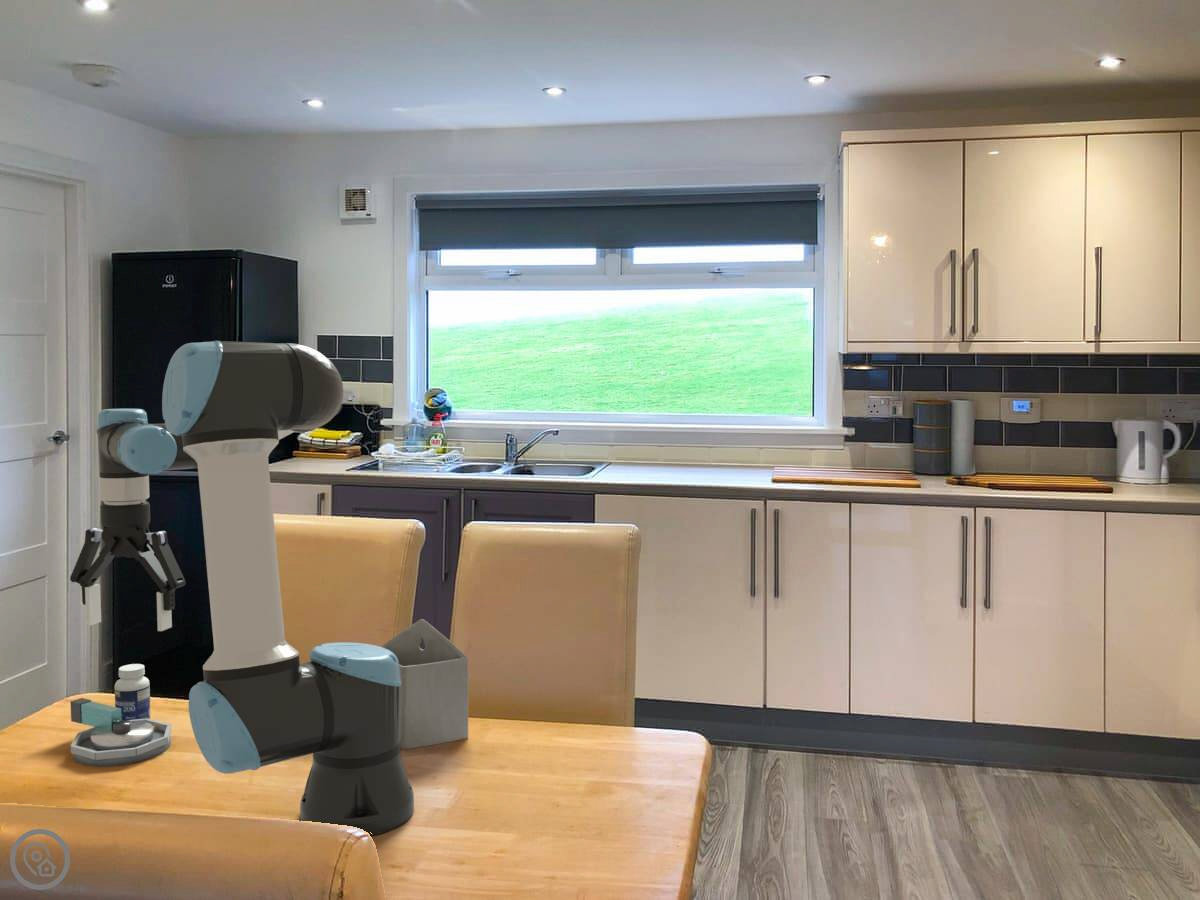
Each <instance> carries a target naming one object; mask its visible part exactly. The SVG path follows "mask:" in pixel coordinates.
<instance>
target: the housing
mask: <svg viewBox="0 0 1200 900" xmlns="http://www.w3.org/2000/svg"><path fill="white" fill-rule="evenodd" d="M128 721H141V722H147V723H150V724H152V725H153V732H154V736H153V738H152V740H150V741H149V742H147V743H145V744H143V745H140V746H137V747H134V748H127V749H117V750H106V751H105V750H98V749H95V748H93V747H92V746H91V733H92V732H93V731H95V730H96V729H98V728H96V727H93V726H92V727H91V728H88V729H85V730H82V731H79V732H78V733H77V734H76V735H75V737H74V739H73V741H72V742H71V744H70V753H71V754H72V755H73V760H74V761H75V762H76V763H78V764H81V765H84V766H87V767H88V766H89V767H98V768H99V767H117V766H118V767H119V766H126V765H131V764H134V763H135V764H136V763H140V762H144V761H146V760H149V759H152V758H155V757H157V756H159V755H161V754H162V753H163V754H164V752H166V751H167V750H168V749H169V748H170V747H171V745H172V744H171V742H172V741H171V740H172V739H171V738H172V737H171V734H172V724H170V723H167V722H163V721H160V720H155V719H151V718H150V719H135V720H128Z"/></svg>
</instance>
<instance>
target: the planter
mask: <svg viewBox="0 0 1200 900" xmlns="http://www.w3.org/2000/svg"><path fill="white" fill-rule="evenodd" d="M422 640H423V644H424V646H425V647H424V649H422V648H421V646H420V644H421V643H422ZM380 647H383V648H385V649H388V650H390V651H391V652H393V653H394V654H395V655H396V657H397V659H398V662H399V670H400V680H401V686H400V750H402V751H403V750H411V749H417V748H424V747H428V746H434V745H439V744H440V745H441V744H446V743H450V742H451V741H452V742H457V741H461V739H462V740H466V739H465V738H467V739H468V738H469V660H468V656H467V655H466V654H465V653H464V652H463V651H462V650H461V649H460V648H459V647H458V646H456V645H455V644H454V643H453V642H451V640H450V639H448V638H447V637H446V636H445V635H443V634H442V633H441V632H440V631H439V630H437V629H436V628H435V627H434V626H433V625H432V624H430V623H429V622H428V621H427V620H425V619H423V618H421V619H419V620H417V621H416V622H414V623H413V624H411V625H409V626H408V627H406V628H405V629H404V630H402V631H401V632H399V633H398V634H396V635H395V636H393V637H392V638H390V640H388V641H387V642H385V643H383V645H381V646H380ZM456 740H457V741H456Z"/></svg>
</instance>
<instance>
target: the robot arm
mask: <svg viewBox="0 0 1200 900" xmlns="http://www.w3.org/2000/svg"><path fill="white" fill-rule="evenodd" d="M339 372H340V371H338V369H337V367H336V366H335V364H333V362H332V361H331V360H330V359H329V358H328V357H326V356H325V355H324V354H322V352H320V351H318V350H316V349H314V348H312V347H310V346H307V345H303V344H298V343H291V342H290V343H289V342H283V343H274V342H273V343H272V342H251V341H249V342H248V341H247V342H246V341H245V342H244V341H229V340H228V341H226V340H224V341H222V340H213V341H202V342H189V343H188V342H187V343H185V344H183V345H181V346H180V347H179V348H177V350H175V352H174V353H173V355H171V358H170V361H169V363H168V364H167V369H166V372H165V375H164V376H165V377H164V381H163V387H162V396H161V397H162V398H161V399H162V400H161V403H162V404H161V411H162V418H163V420H164V423H149V422H148V414H147V411H145V409H142V408H108V409H102V410H100V411H99V412H98V413H97V428H96V431H95V433H96V435H97V447H98V449H97V450H98V451H97V452H98V453H97V454H98V472H99V475H98V476H99V477H98V480H99V481H98V485H99V487H98V488H99V492H98V493H99V500H100V501H101V502H103V503H101V505H100V506H99V508H100V525H101V526H103V529H102V528H101V527H98V526H97V527H93V528H92V527H91V528H88V529H86V530H85V536H84V544H83V545H82V548H81V551H80V553H79V556H78V557H77V560H76V563H75V565H74V567H73V570H72V573H71V575H70V577H69V579H70V581H71V583H77V584H79V585H80V587H81V598H82V599H81V601H82V605H84V606H85V623H86V626H89V627H91V626H93V625H96V624H100V623H102V606H101V598H102V597H101V584H100V583H99V582H98V580H99V578H100V577H101V575H102V574H103V573H104V572H105V571H106V569H107V567H108V566H109V565H110V563H111V562H112V561H113V559H114V558H122V557H124V558H126V559H127V558H128V559H132V558H134V559H135V560H136V562H139V563H140V564H141V566H142V567H143V568H144V570H145V571H146V572H147V573H148V574H149V576H150V577H151V579H152V580H153V581H154V582H155V584H156V585H157V587H158V588H159V589H160V591H157V592H156V615H157V617H156V621H157V624H156V625H157V632H163V631H166V630H168V629H171V628H173V621H172V619H173V618H172V610H175V607H176V596H175V595H176V593H175V592H176V589H178V588H181V587H184V586H185V585H186V583H187V582H186V579H185V577H184V575H183V572H182V570H181V568H180V565H179V564H178V562H177V560H176V558H175V556H174V553H173V551H172V549H171V546H170V545H169V539H168V533H167V531H165V530H161V531H155V532H150V531H151V530H150V529H149V525H150V523H151V504H150V503H149V501H147V500H148V499H149V498H150V474H151V475H152V474H159V473H162V472H163V471H176V470H177V471H178V470H190V469H191V470H192V469H197V473H198V474H197V475H198V484H199V495H200V505H201V506H200V507H201V517H202V527H203V528H202V529H203V537H204V538H203V540H204V550H205V560H206V561H205V562H206V564H205V565H206V573H207V583H208V594H209V595H208V596H209V605H210V618H211V628H212V629H211V631H212V637H213V638H212V640H213V641H212V642H213V652H212V654H211V655H210V656H209V658H207V660H206V661H205V662H204V664H203V665H202V672H203V673H202V674H203V681H199V682H197V683H196V684H195V685H193V686H192V687H191V688H190V691H189V694H188V698H189V700H188V714H189V715H188V716H189V719H190V724H191V728H192V732H193V735H194V739H195V741H196V744H197V746H198V748H199V750H200V752H201V754H202V756H203V757H204V759H205V761H206V763H208V765H209V766H210V767H211V768H212V769H214V770H215V771H216V772H218V773H221V774H226V775H227V774H228V775H230V774H235V773H241V772H245V771H257V770H259V769H260V768H262V767H265V766H266V767H267V766H270V765H273V764H277V763H281V762H285V761H289V760H292V759H296V758H300V757H305V756H308V755H312V764H311V767H310V771H309V773H308V776H307V780H306V783H305V787H304V792H303V794H302V796H301V800H300V804H299V807H300V808H299V812H300V814H299V817H300V818H299V821H301V820H302V821H312V822H321V823H330V824H338V825H347V826H353V827H357V828H360V829H363V830H364V831H366V832H368V833H369V834H370V836H374V835H378V834H383V833H385V831H386V832H388V831H391V830H393V829H395V827H396V828H397V827H400V826H401V825H402V824H404V823H406V822H407V821H408V820H410V818H411V816H412V815H413V813H414V809H415V800H414V799H415V795H414V793H415V792H414V790H413V787H412V785H411V783H410V781H409V779H408V774H407V772H406V767H405V766H404V762H403V759H402V754H401V748H400V686H401V680H400V670H399V662H398V659H397V657H396V655H395V654H394V653H393V652H391V651H390V650H388V649H385V648H383V647H381V646H378V645H375V644H370V643H361V642H349V641H347V642H344V641H343V642H342V641H341V642H338V641H337V642H328V643H322V644H318V645H317V646H314V647H312V649H311V651H310V654H309V660H310V661H308V662H303V663H301V662H300V653H299V651H298V650H297V649H296V648H294V647H293V646H292V645H291V644H289V643H288V642H287V641H286V637H285V636H286V635H285V633H286V632H285V625H284V624H285V623H284V615H283V614H284V613H283V604H282V594H281V593H282V590H281V583H280V582H281V580H280V573H279V570H280V569H279V562H278V552H277V551H278V549H277V540H276V539H277V538H276V529H275V520H274V519H275V518H274V507H273V497H272V486H271V476H270V475H271V474H270V467H269V466H270V465H269V464H270V463H269V456H270V454H271V453H272V452H273V450H274V449H275V448H276V447H277V446H278V445H279V443H280V442H279V441H280V440H281V439H284V438H285V437H287V436H289V435H291V434H293V433H308V432H311V431H314V430H317V429H318V428H320V427H323V426H324V425H326V424H328V423H329V422H330V421H331V420H332V419H333V418H334V417H335V416H336V415H337V414H338V413H339V411H340V409H341V408H342V403H343V399H344V384H343V381H342V377H341V374H340V373H339ZM102 541H103V543H104V544H105V545H104V546H103V548H102V549H101V550H100V551H99V553H98V556H97V558H96V559H95V557H96V555H97V552H98V550H99V548H100V545H101V543H102ZM150 545H151V546H152V547H151V546H150ZM94 559H95V560H94ZM98 583H99V584H98ZM390 829H391V830H390ZM387 830H388V831H387ZM370 832H371V833H372V834H373V835H372V834H371V833H370Z"/></svg>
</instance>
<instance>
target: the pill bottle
mask: <svg viewBox="0 0 1200 900" xmlns="http://www.w3.org/2000/svg"><path fill="white" fill-rule="evenodd" d="M145 668H146V667H145V665H144V664H141V663H131V664H130V663H129V664H125V665H122V666H120V667H119V668H118V678H120V679H118V680H116V682H115V684H114V704H115V705H114V707H117V708H121V718H122V721H123V720H135V719H151V695H150V694H151V693H150V692H151V689H150V688H151V687H150V680H149V678H148V677H146V676H144V675H145V674H146V673H145V672H146V671H145Z"/></svg>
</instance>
